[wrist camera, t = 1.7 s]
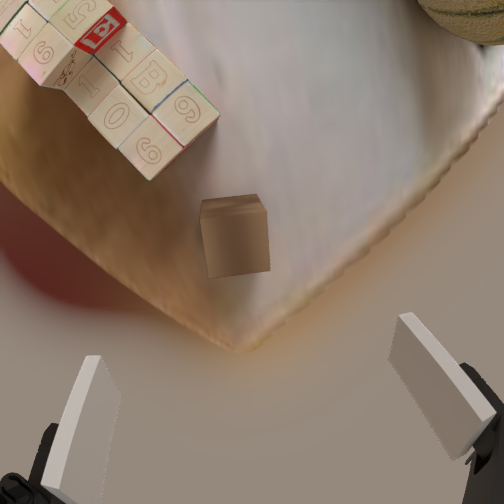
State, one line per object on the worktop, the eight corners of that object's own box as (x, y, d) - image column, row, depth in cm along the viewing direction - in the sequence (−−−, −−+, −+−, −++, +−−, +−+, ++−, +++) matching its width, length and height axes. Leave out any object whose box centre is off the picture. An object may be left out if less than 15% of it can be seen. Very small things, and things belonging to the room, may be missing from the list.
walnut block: (256, 193, 29) (266, 211, 23) (260, 243, 31) (270, 270, 25) (202, 199, 28) (199, 219, 23) (209, 249, 30) (208, 278, 25)
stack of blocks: (220, 119, 26) (224, 114, 14) (168, 166, 27) (135, 196, 15) (84, -13, 18) (29, -62, 6) (40, 31, 19) (-32, 4, 7)
